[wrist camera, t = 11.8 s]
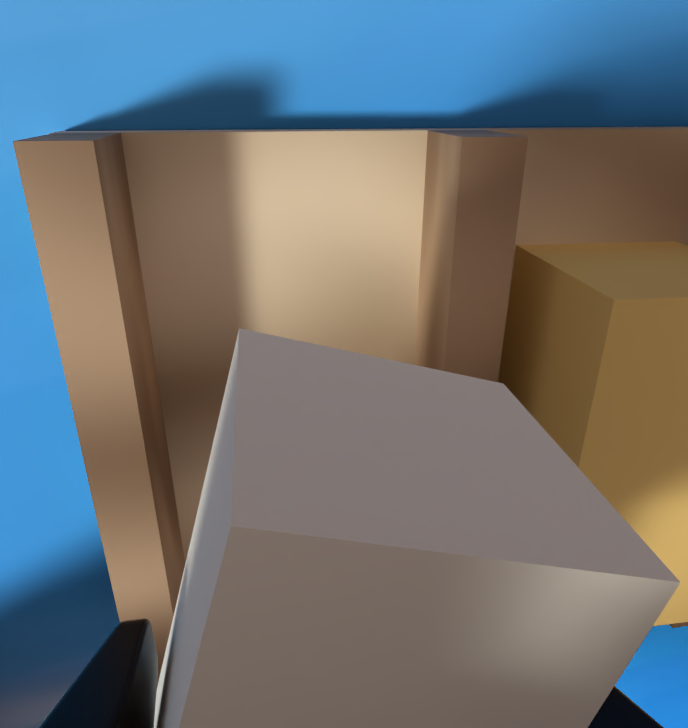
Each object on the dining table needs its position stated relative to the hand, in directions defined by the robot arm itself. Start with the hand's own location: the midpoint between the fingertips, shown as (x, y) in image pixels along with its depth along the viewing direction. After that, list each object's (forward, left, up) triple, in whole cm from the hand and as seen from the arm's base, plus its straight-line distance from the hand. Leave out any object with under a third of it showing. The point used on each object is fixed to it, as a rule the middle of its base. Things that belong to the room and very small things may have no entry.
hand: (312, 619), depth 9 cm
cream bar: (0, 0, -1) cm, 1 cm away
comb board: (0, -4, -7) cm, 8 cm away
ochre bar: (0, -7, -6) cm, 10 cm away
